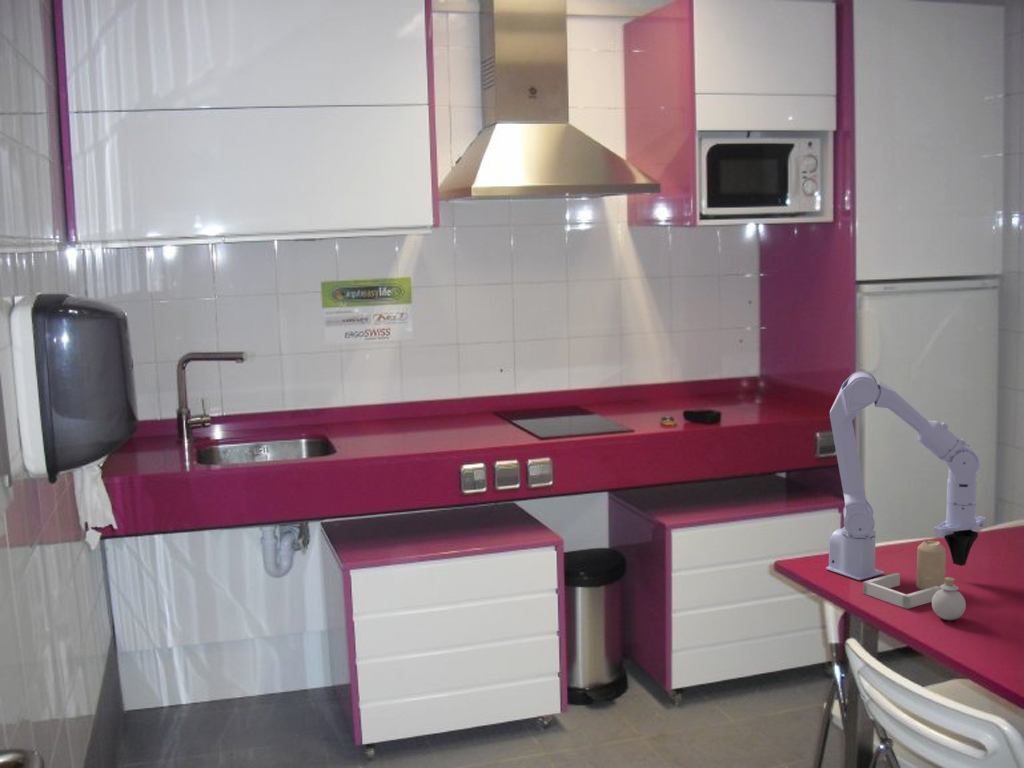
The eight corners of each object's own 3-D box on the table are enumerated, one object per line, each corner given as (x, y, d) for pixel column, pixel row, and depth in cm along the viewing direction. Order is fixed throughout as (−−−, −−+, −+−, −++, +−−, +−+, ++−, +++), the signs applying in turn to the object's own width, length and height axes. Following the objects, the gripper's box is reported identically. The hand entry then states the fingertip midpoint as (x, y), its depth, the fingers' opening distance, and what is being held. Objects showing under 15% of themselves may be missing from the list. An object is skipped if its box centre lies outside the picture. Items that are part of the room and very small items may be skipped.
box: (863, 593, 216) (863, 581, 216) (895, 584, 221) (896, 572, 221) (907, 609, 207) (907, 596, 206) (940, 599, 211) (940, 587, 211)
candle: (916, 591, 216) (918, 544, 215) (915, 582, 222) (917, 536, 220) (945, 593, 215) (947, 546, 213) (943, 584, 220) (945, 538, 218)
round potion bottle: (967, 625, 197) (969, 575, 196) (925, 623, 199) (927, 573, 198) (962, 614, 203) (963, 564, 202) (921, 612, 205) (923, 563, 203)
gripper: (955, 511, 213) (953, 575, 215) (999, 500, 220) (997, 562, 222) (926, 504, 219) (924, 566, 221) (970, 494, 226) (968, 554, 228)
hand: (959, 564), depth 222 cm, fingers closed
